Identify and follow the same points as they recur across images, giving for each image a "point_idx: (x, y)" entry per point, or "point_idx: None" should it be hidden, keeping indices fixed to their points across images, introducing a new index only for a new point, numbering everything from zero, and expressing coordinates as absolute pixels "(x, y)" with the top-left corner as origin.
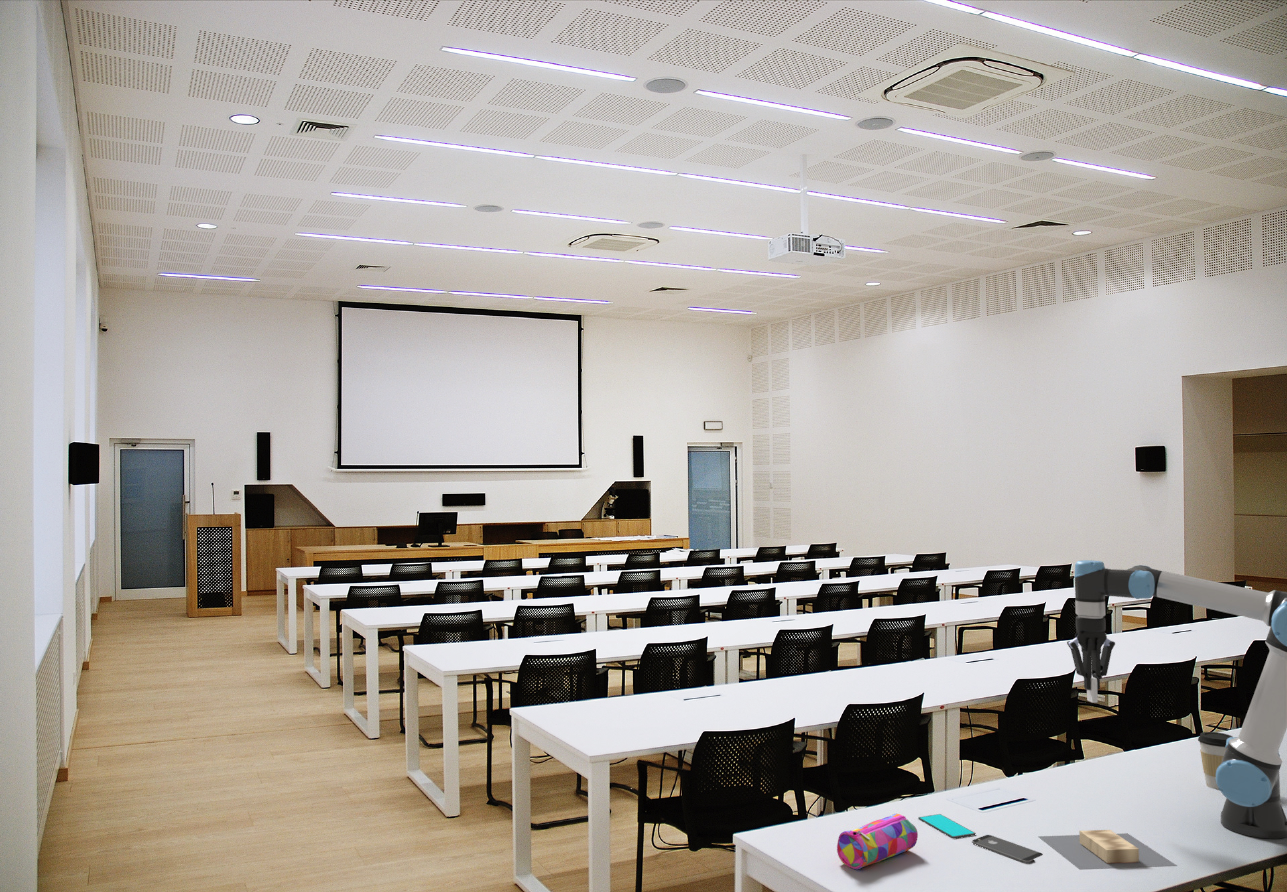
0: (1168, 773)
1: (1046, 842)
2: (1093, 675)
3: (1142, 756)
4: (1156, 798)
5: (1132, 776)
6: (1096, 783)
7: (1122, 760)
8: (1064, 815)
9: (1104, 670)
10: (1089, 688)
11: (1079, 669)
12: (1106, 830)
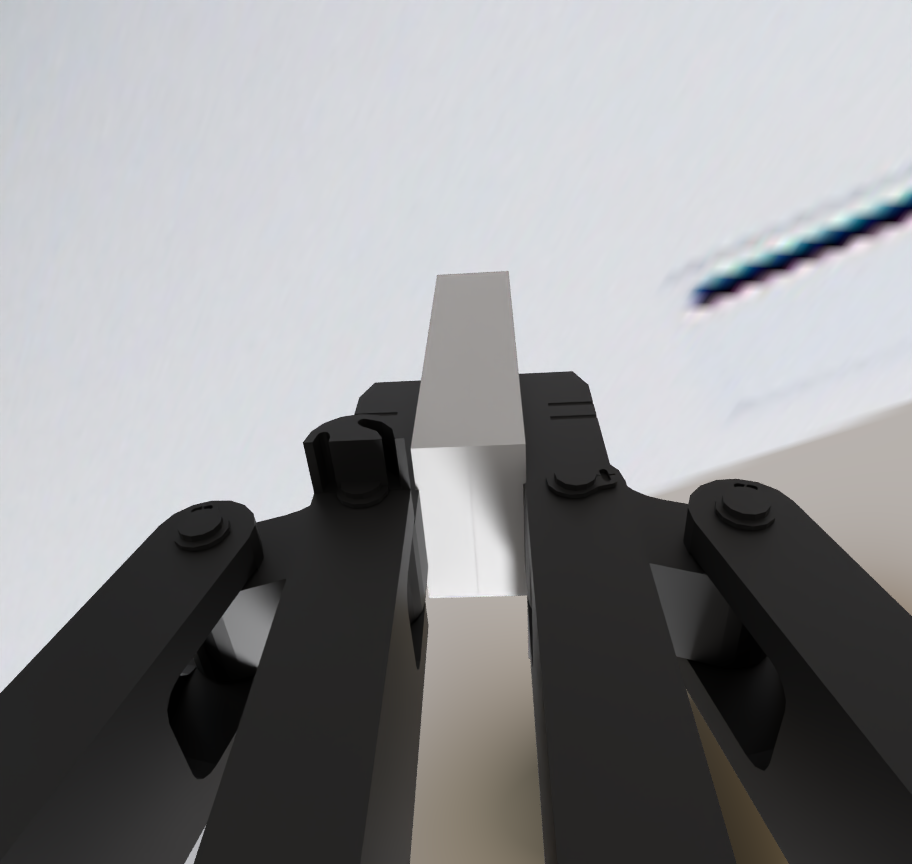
0: (16, 529)
1: None
2: (424, 573)
3: None
4: (138, 281)
5: (156, 507)
6: None
7: None
8: (650, 69)
9: (181, 585)
10: (542, 381)
11: (879, 611)
12: None
